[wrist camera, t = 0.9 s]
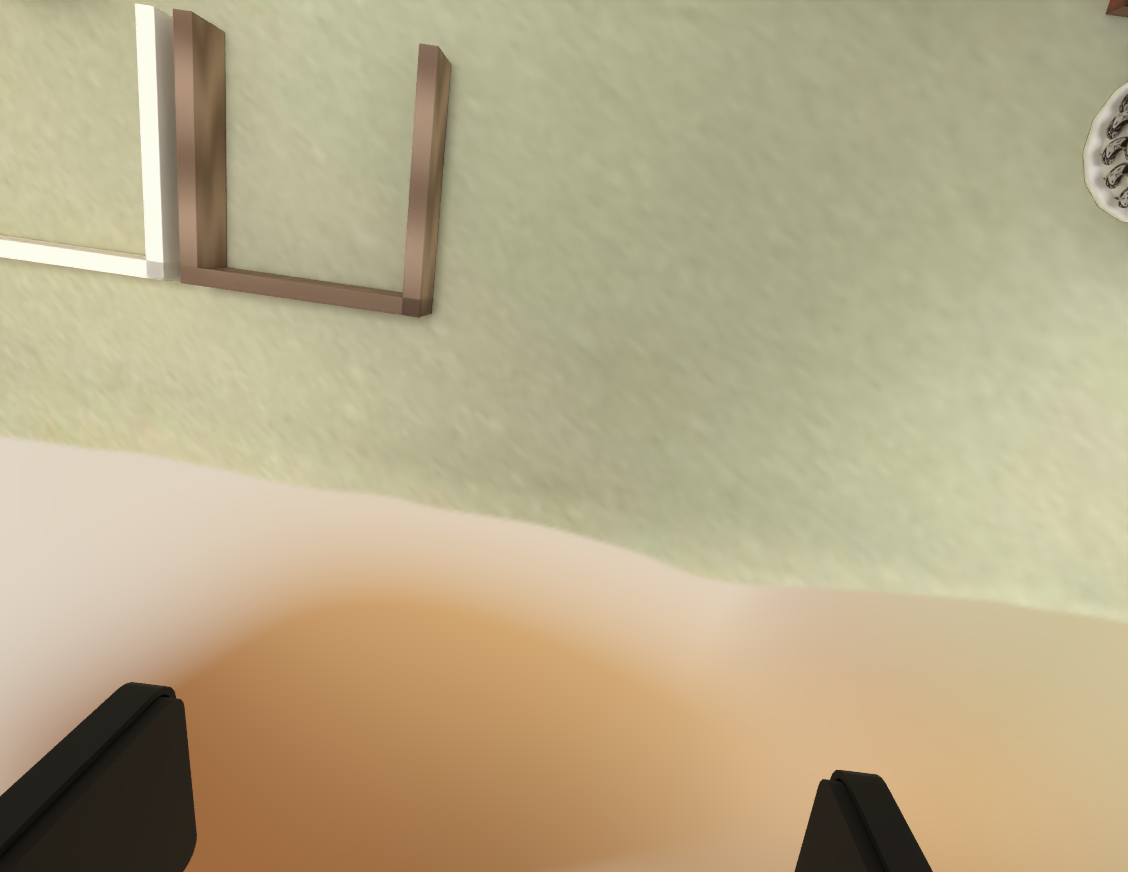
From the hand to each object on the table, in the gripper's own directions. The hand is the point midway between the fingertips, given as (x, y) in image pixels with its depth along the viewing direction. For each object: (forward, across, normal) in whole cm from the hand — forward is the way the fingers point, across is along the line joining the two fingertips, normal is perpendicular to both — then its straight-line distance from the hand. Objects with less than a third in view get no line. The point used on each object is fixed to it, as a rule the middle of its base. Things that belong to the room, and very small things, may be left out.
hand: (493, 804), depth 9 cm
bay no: (+32, +16, -10) cm, 37 cm away
